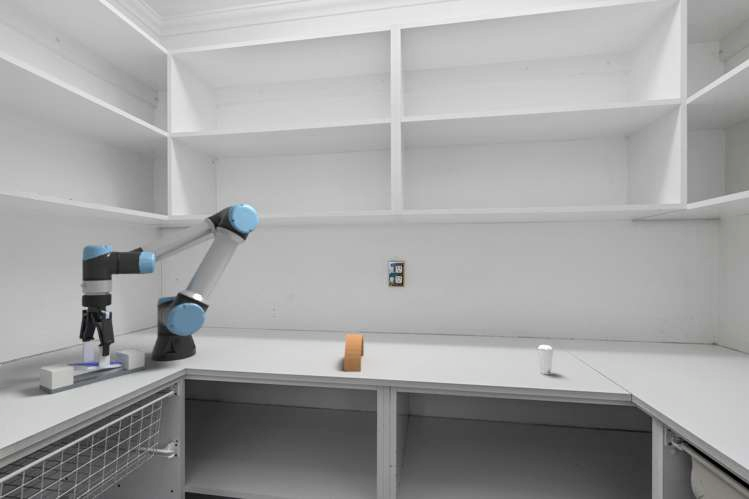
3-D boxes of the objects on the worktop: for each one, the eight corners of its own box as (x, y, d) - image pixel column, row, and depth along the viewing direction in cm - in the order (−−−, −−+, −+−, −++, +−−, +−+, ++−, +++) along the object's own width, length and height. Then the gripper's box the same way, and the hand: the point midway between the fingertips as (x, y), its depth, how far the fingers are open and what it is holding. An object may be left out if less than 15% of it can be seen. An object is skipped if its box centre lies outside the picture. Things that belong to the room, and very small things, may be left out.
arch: (343, 371, 121) (343, 341, 121) (349, 355, 141) (349, 329, 141) (360, 371, 120) (360, 341, 121) (364, 355, 140) (364, 329, 141)
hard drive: (88, 365, 108) (122, 362, 120) (65, 363, 109) (102, 361, 121) (87, 370, 107) (122, 367, 119) (64, 369, 109) (101, 366, 121)
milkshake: (549, 377, 114) (549, 345, 114) (535, 372, 119) (534, 341, 119) (558, 374, 116) (558, 343, 117) (544, 370, 121) (543, 340, 121)
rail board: (131, 365, 127) (131, 348, 127) (144, 369, 123) (144, 351, 123) (39, 388, 105) (40, 367, 105) (51, 393, 101) (52, 371, 102)
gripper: (66, 292, 117) (65, 361, 116) (100, 296, 106) (99, 372, 106) (93, 291, 123) (92, 356, 123) (128, 294, 113) (127, 365, 112)
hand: (96, 363), depth 114 cm, fingers open, 10 cm apart
